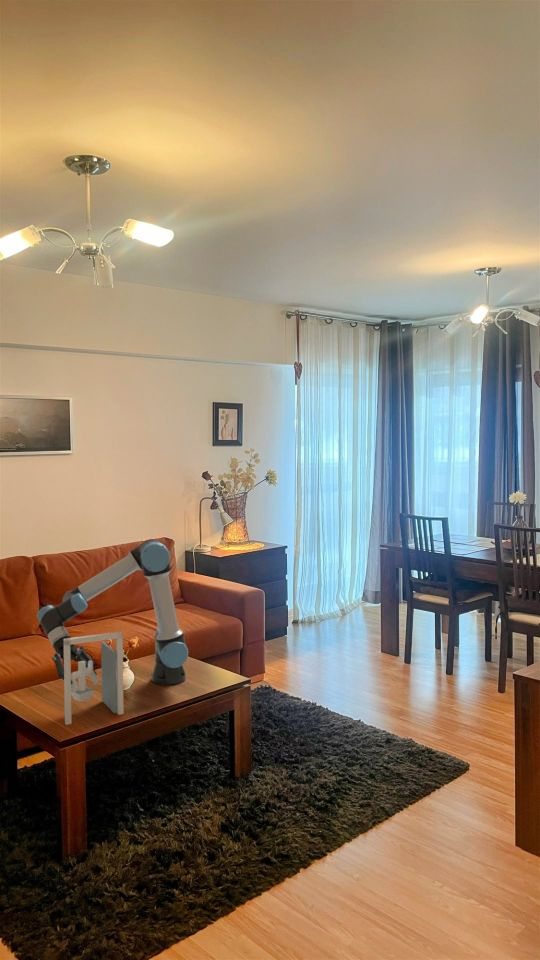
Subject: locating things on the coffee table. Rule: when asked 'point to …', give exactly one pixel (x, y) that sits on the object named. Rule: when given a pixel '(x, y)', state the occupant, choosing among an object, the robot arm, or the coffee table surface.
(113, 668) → the door
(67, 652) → the door frame
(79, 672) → the figurine
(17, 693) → the coffee table surface
